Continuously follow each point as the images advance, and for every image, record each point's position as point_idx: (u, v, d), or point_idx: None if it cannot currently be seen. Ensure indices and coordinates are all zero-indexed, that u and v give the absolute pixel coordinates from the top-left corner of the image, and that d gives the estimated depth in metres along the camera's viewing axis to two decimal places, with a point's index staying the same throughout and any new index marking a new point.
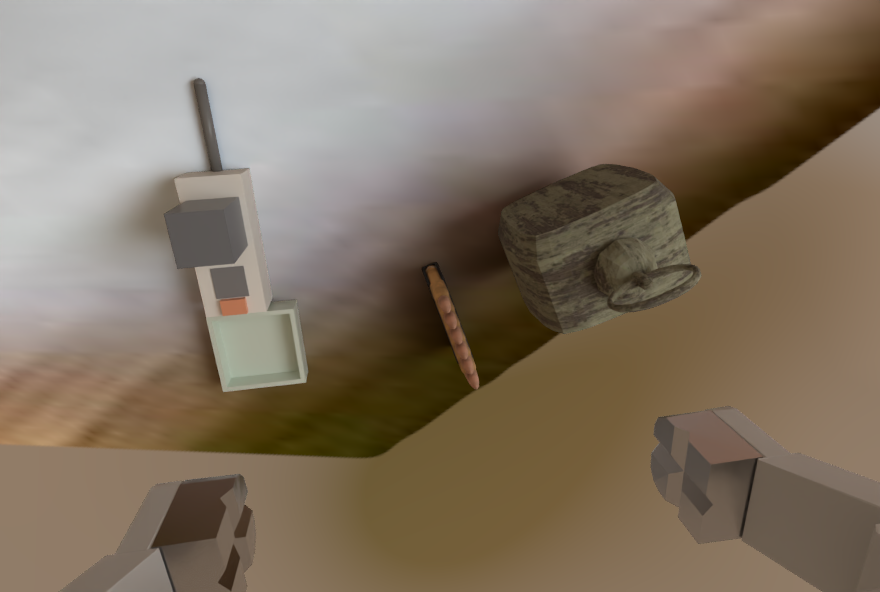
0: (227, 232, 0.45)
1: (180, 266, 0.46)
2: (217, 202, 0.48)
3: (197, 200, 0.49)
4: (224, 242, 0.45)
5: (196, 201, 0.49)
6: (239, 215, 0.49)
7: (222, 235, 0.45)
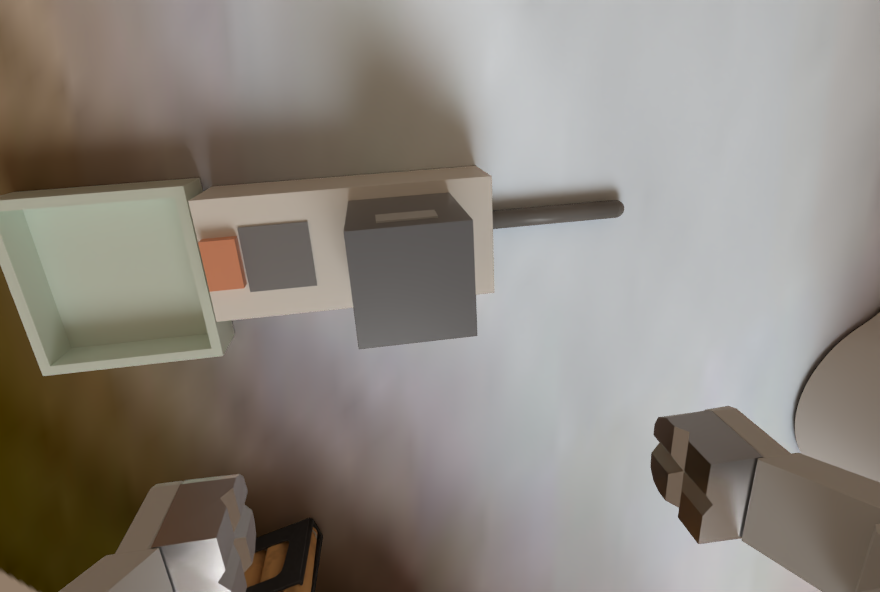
0: (428, 339, 0.21)
1: (349, 239, 0.19)
2: None
3: None
4: (406, 333, 0.21)
5: None
6: None
7: (422, 330, 0.21)
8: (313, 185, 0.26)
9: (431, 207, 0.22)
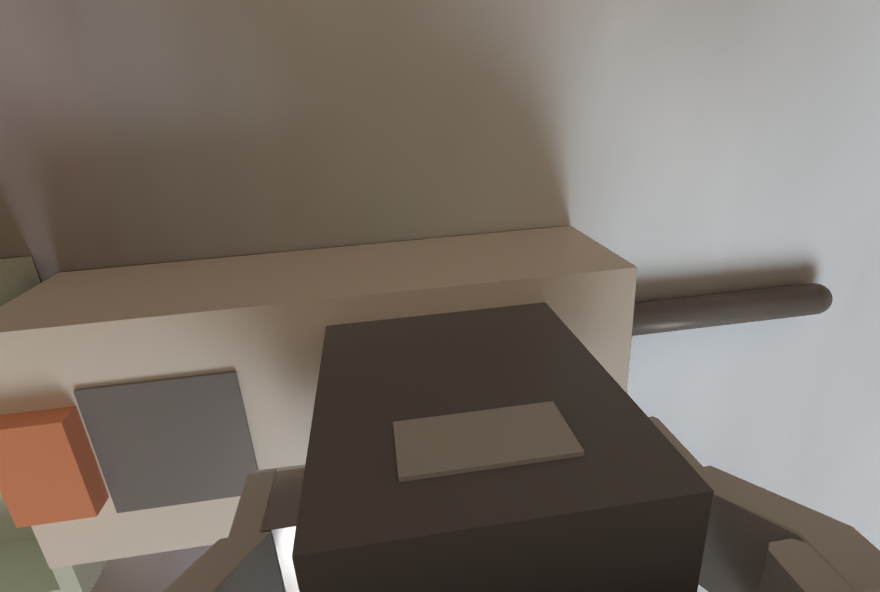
0: None
1: (312, 574, 0.06)
2: None
3: None
4: None
5: None
6: None
7: None
8: (254, 282, 0.12)
9: (535, 379, 0.09)
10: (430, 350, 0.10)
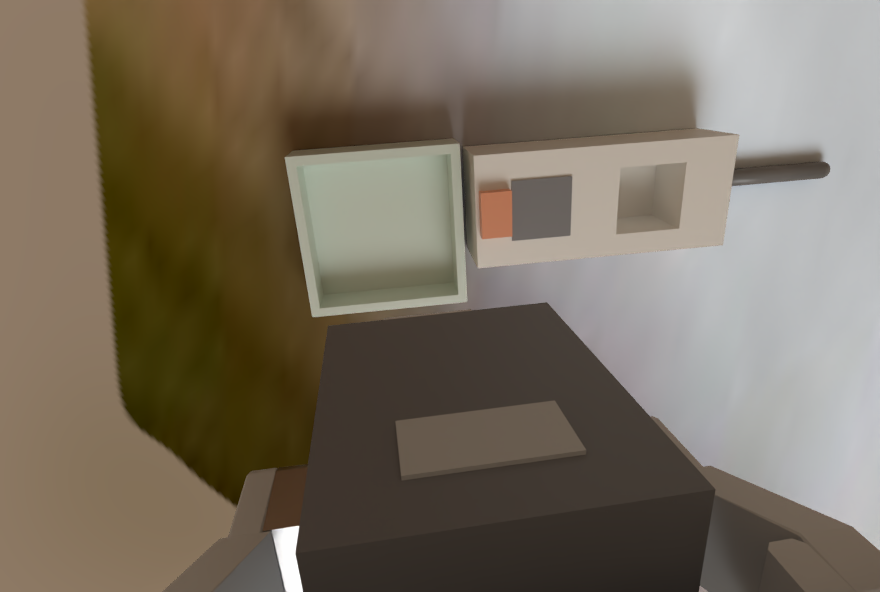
0: None
1: (316, 572, 0.06)
2: None
3: None
4: None
5: None
6: None
7: None
8: (568, 144, 0.28)
9: (537, 378, 0.09)
10: (432, 350, 0.10)
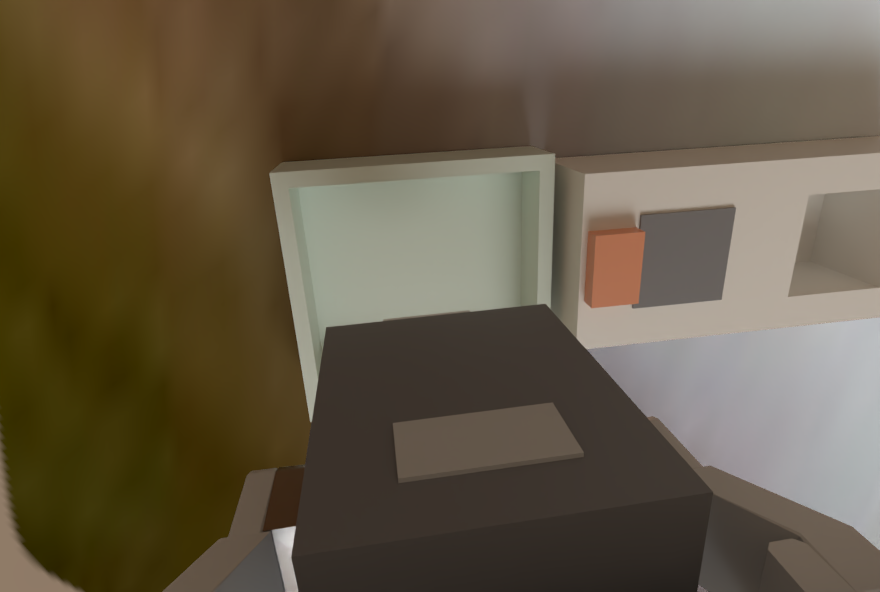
0: None
1: (312, 575, 0.06)
2: None
3: None
4: None
5: None
6: None
7: None
8: (719, 156, 0.18)
9: (535, 380, 0.09)
10: (430, 351, 0.10)
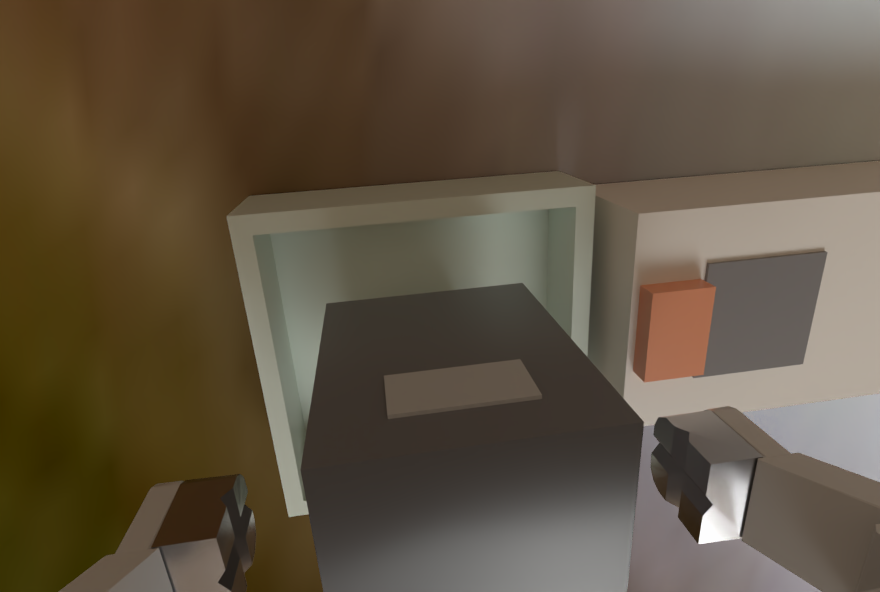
0: None
1: (317, 486, 0.07)
2: None
3: None
4: None
5: None
6: None
7: None
8: (798, 184, 0.14)
9: (507, 343, 0.10)
10: (418, 322, 0.11)
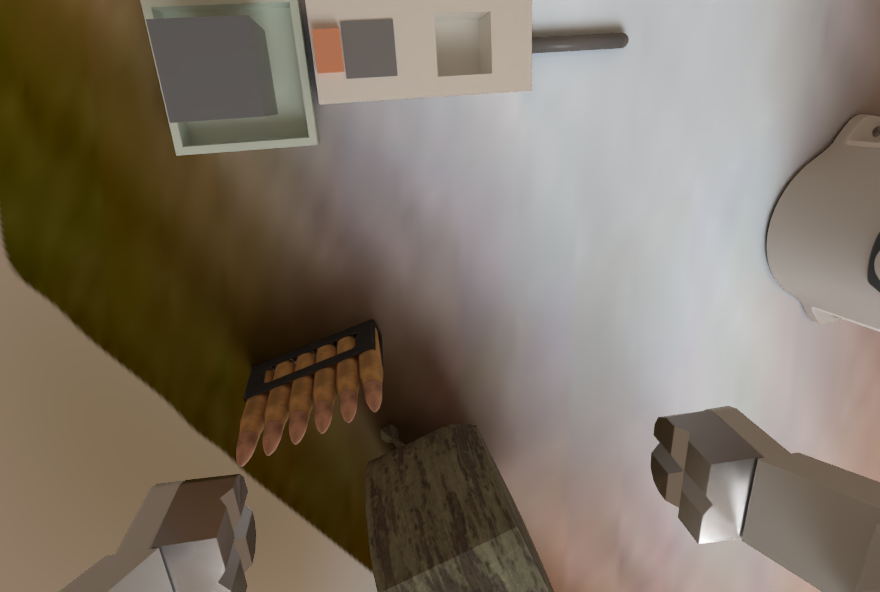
0: (225, 117, 0.28)
1: (151, 26, 0.26)
2: (269, 90, 0.31)
3: (267, 50, 0.32)
4: (207, 110, 0.27)
5: (266, 51, 0.31)
6: None
7: (219, 108, 0.27)
8: None
9: None
10: None
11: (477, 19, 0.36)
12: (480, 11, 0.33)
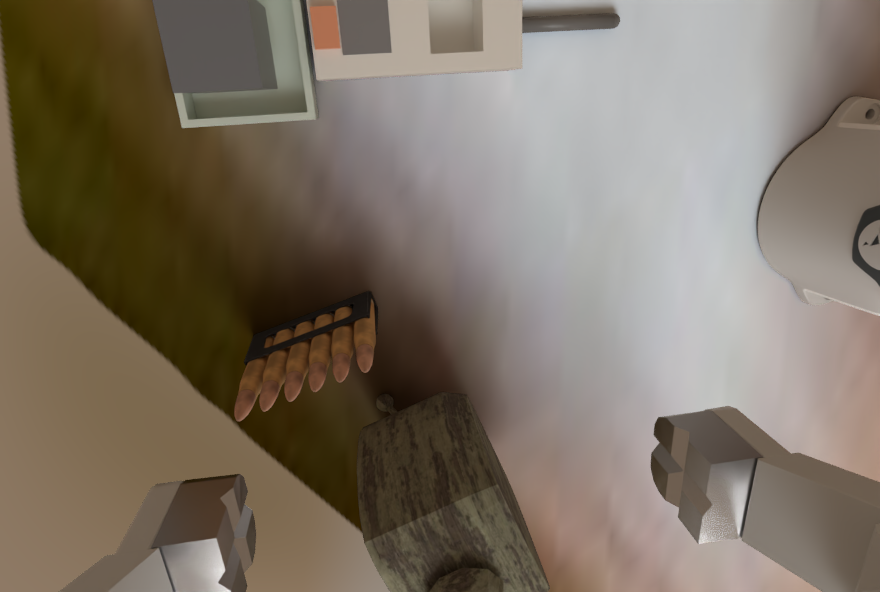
0: (225, 88, 0.29)
1: (156, 0, 0.27)
2: (268, 64, 0.32)
3: (267, 27, 0.33)
4: (208, 81, 0.29)
5: (266, 27, 0.33)
6: (250, 90, 0.34)
7: (219, 80, 0.29)
8: None
9: None
10: None
11: None
12: None
